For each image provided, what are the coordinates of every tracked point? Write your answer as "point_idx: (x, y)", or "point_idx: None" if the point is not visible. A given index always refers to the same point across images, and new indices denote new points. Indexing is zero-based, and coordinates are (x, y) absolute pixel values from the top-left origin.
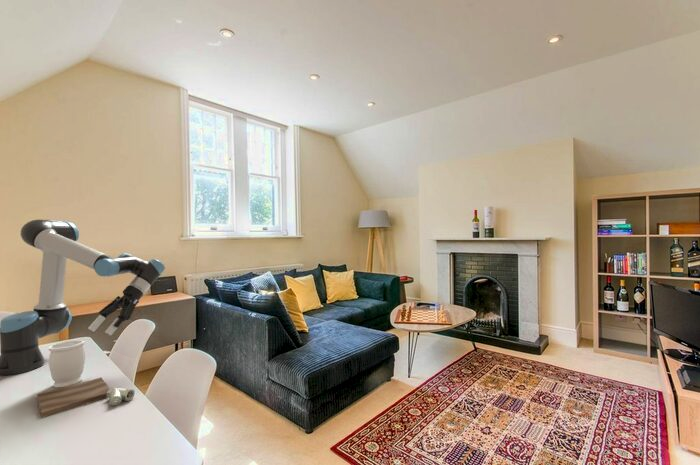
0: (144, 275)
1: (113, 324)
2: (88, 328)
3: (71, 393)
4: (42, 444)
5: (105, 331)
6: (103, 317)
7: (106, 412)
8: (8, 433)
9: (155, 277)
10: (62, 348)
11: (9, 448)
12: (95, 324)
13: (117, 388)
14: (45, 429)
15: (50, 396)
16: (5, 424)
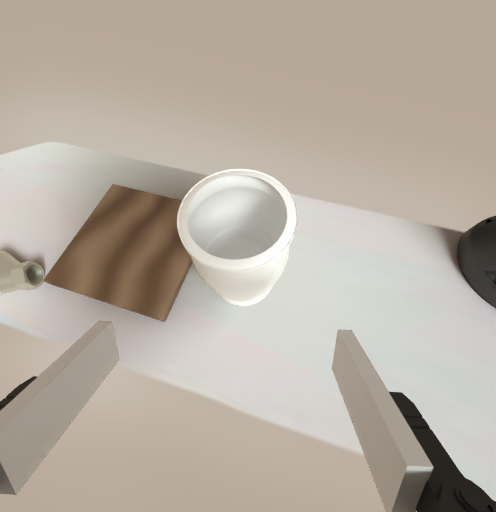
0: None
1: (46, 378)
2: (342, 331)
3: (137, 237)
4: (32, 165)
5: (103, 323)
6: (391, 489)
7: (2, 241)
8: (117, 157)
9: None
10: (193, 187)
11: (72, 148)
12: (351, 381)
13: (4, 275)
14: (69, 180)
15: (170, 214)
16: (154, 163)
